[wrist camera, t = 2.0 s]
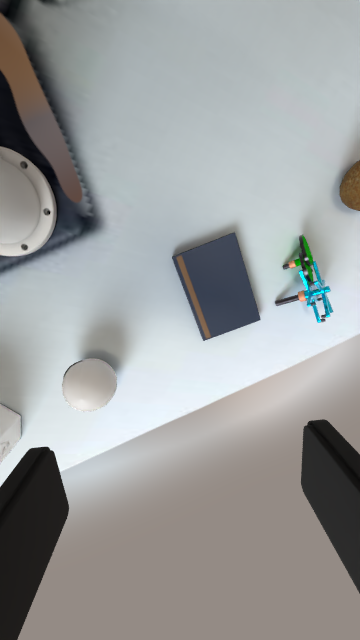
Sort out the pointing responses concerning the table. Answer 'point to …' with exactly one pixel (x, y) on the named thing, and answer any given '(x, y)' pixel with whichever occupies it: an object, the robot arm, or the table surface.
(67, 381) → the white sphere
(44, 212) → the robot arm
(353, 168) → the fruit
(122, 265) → the table surface
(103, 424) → the table surface
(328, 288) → the stick construction toy
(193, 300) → the notebook
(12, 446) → the jar
